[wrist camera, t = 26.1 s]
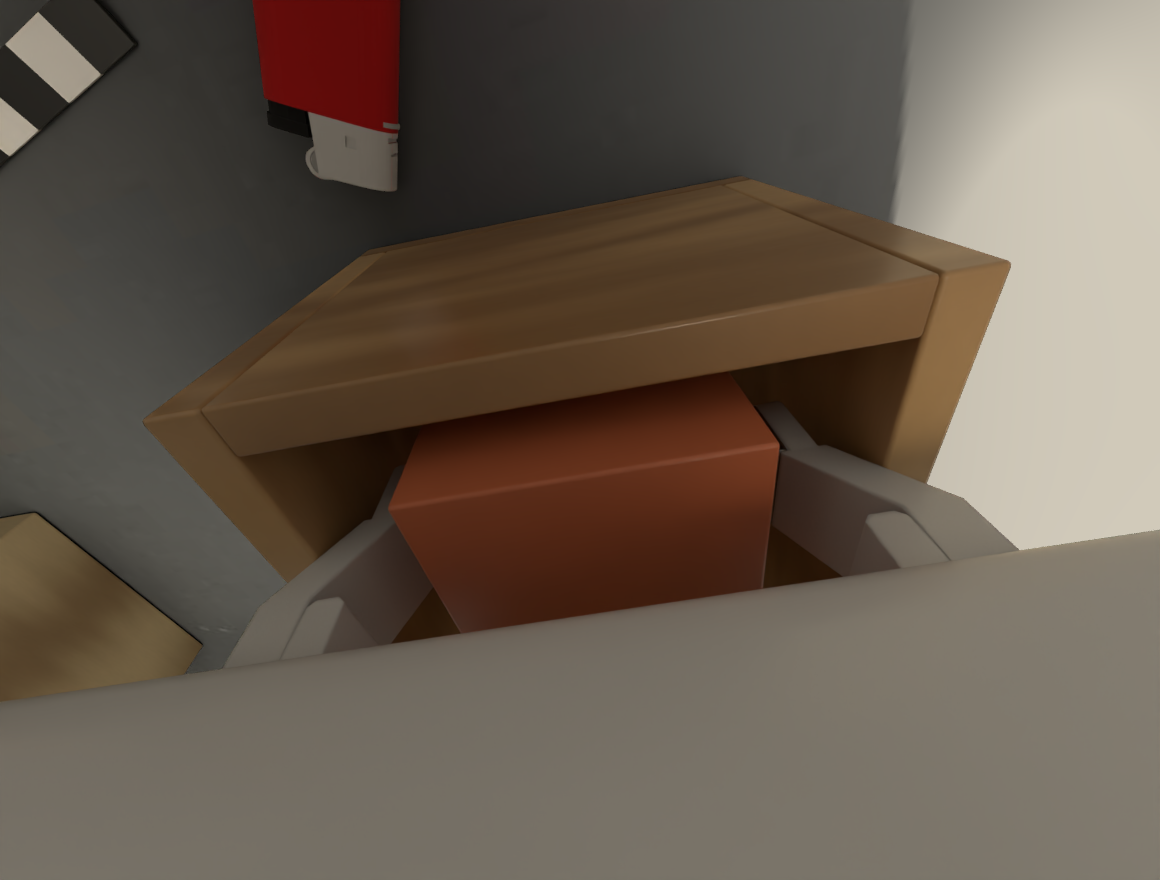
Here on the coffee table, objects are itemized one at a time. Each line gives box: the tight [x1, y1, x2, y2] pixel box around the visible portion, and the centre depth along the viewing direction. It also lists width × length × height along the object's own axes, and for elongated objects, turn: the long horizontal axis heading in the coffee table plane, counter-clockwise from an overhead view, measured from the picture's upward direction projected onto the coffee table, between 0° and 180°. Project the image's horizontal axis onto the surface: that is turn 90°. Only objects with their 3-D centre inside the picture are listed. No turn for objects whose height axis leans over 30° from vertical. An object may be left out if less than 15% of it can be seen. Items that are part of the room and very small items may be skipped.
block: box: [388, 371, 779, 633], centre depth 9 cm, size 5×5×5 cm
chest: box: [143, 176, 1011, 644], centre depth 13 cm, size 14×11×9 cm
